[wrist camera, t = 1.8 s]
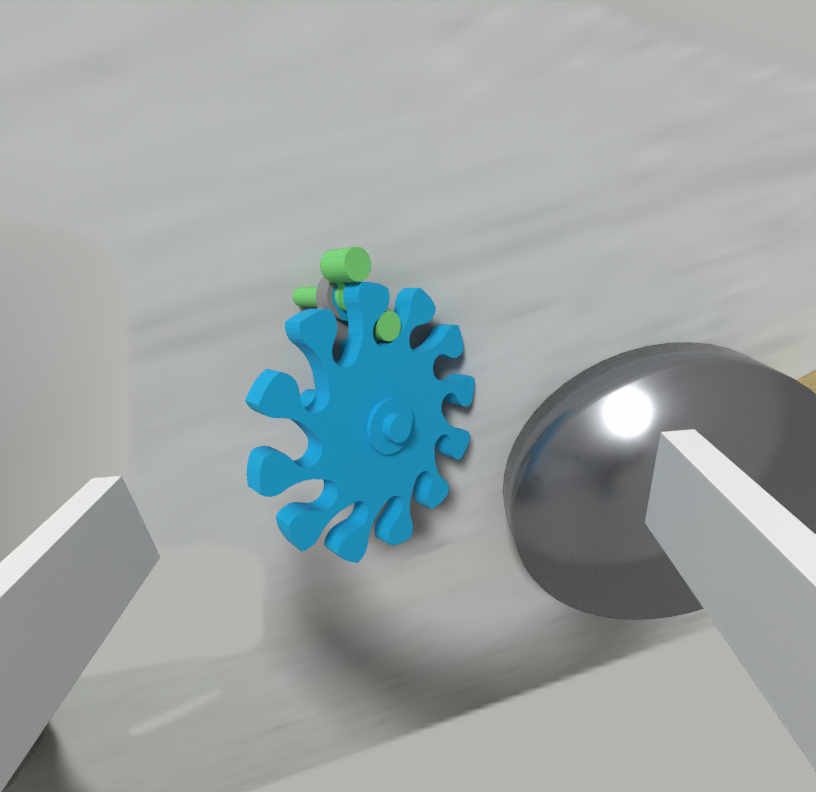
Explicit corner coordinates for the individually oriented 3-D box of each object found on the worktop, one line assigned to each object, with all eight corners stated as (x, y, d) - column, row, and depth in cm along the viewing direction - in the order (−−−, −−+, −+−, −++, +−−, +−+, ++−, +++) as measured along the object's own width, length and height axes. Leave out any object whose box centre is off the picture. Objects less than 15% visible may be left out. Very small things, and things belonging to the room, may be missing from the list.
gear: (490, 494, 20) (298, 632, 13) (400, 460, 24) (221, 553, 17) (480, 237, 16) (218, 254, 10) (378, 250, 21) (146, 267, 14)
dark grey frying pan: (579, 613, 26) (596, 654, 23) (448, 451, 21) (454, 484, 18) (888, 475, 22) (944, 509, 19) (816, 231, 17) (881, 238, 14)
